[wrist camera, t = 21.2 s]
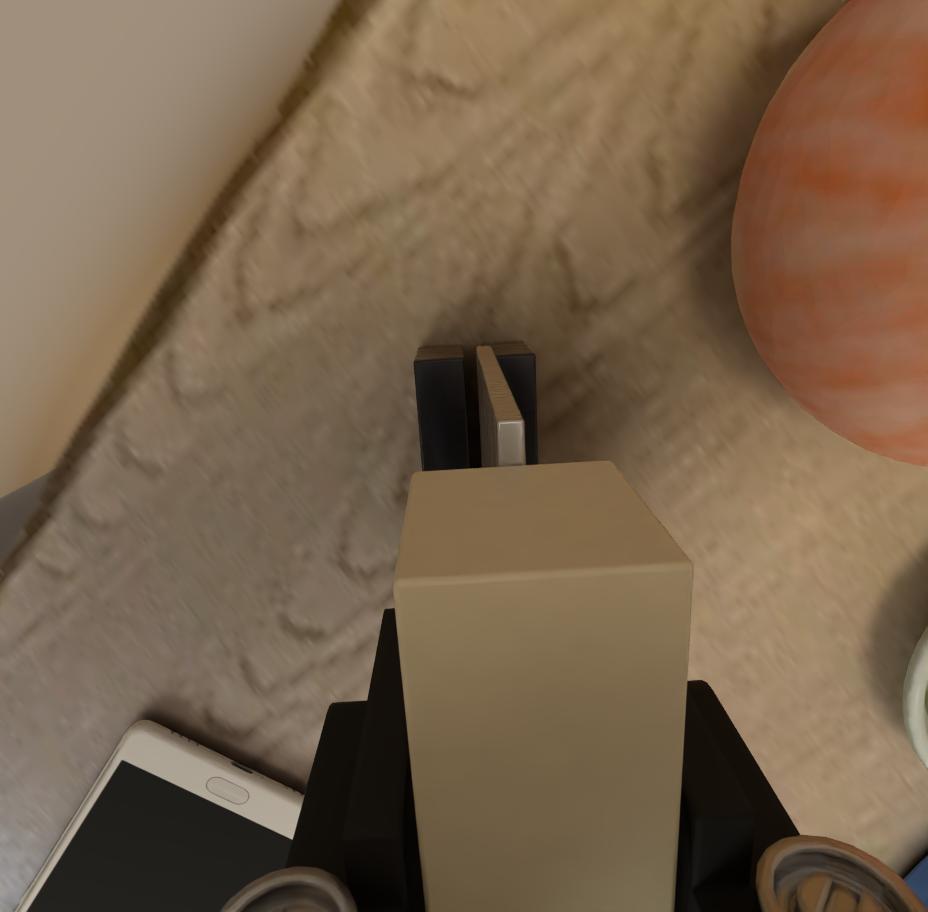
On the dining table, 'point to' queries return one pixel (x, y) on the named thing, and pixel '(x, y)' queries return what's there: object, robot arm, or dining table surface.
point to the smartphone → (166, 831)
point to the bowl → (919, 881)
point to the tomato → (845, 229)
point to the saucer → (917, 699)
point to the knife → (541, 679)
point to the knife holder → (448, 407)
